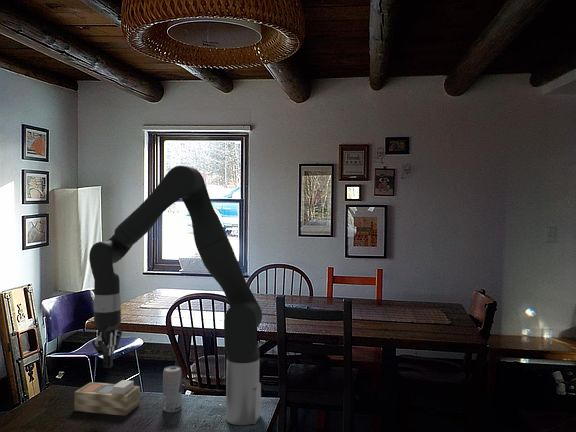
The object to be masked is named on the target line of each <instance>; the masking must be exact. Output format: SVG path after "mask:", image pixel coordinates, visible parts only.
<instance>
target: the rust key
mask: <svg viewBox="0 0 576 432" xmlns="http://www.w3.org/2000/svg"><path fill="white" fill-rule="evenodd" d="M101 386H103V385H99V384H91V385H90V386H88V387H86V388H85V389H83V390H82V391H85V392H94V391H95V390H97V389H98V388H100V387H101Z"/></svg>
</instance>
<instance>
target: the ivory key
mask: <svg viewBox="0 0 576 432" xmlns="http://www.w3.org/2000/svg"><path fill="white" fill-rule="evenodd" d="M134 383H135V382H134V380H125V379H122V380H120V381H119V382H117V383H115V384H116V385H114V386H113V394H119V395H125V394H127V393H128V392H129V391H131V390H132V389H133V388H134V386H135V385H134Z"/></svg>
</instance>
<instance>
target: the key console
mask: <svg viewBox="0 0 576 432" xmlns="http://www.w3.org/2000/svg"><path fill="white" fill-rule="evenodd" d="M91 384H99V385H103V386H101V387H100V388H98V389H97V390H95V391H94V392H85V391H82V390H83V389H85V388H86V387H88V386H90V385H91ZM116 384H117V383H107V382H94V381H93V382H92V381H90V382H89V383H87V384H85V385H84V386H81V387H80V388H79V389H77V390H75V391H74V412H83V413H93V414H94V413H95V414H103V415H104V414H105V415H106V414H107V415H115V416H124V417H125V416H127V415H128V414H130V413H131V412H132V411H134V410H135V409H136V408H137V407H139V406H140V403H141V402H140V400H141V397H140V394H141V393H140V392H141V387H140V386H138V385H134V388H133V389H132V390H131V391H129V392H128V393H127V394H125V395H119V394H113V391H112V392H110V393H109V394H107V393H97V392H98V391H99V390H101V389H102V388H104V387H105V386H107V385H110V386H114V385H116Z"/></svg>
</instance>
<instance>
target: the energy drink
mask: <svg viewBox="0 0 576 432" xmlns="http://www.w3.org/2000/svg"><path fill="white" fill-rule="evenodd" d="M182 373H183V371H182V368H181V367H180V366H177V365H171V366H166V367H164V369H163V371H162V410H163V411H164V412H165V413H177V412H179V411H181V409H182V407H183V406H182V399H183V398H182V392H183V391H182V384H183V383H182V382H183V379H182V377H183V375H182Z"/></svg>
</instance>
